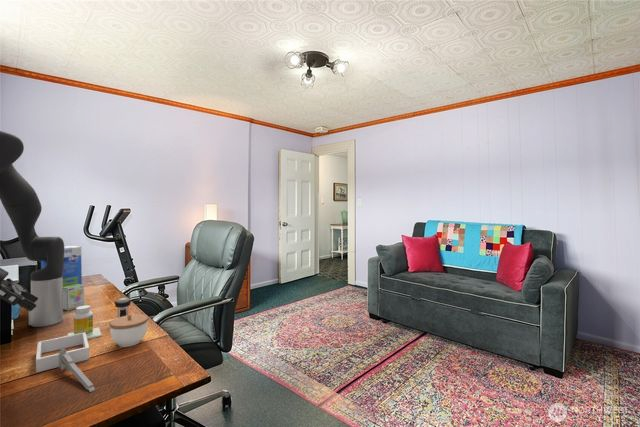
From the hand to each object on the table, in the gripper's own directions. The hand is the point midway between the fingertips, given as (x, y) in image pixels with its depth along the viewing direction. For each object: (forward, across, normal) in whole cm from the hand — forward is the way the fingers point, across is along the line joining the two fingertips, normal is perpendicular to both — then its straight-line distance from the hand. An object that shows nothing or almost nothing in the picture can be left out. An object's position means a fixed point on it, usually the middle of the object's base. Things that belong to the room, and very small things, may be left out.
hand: (34, 304), depth 99 cm
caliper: (+16, -31, +3) cm, 35 cm away
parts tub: (+14, -13, +5) cm, 20 cm away
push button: (+27, +4, -7) cm, 28 cm away
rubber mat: (+19, +2, +1) cm, 19 cm away
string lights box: (+16, +54, +6) cm, 57 cm away
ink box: (+18, +41, +3) cm, 45 cm away
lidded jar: (+26, -15, -7) cm, 31 cm away
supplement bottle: (+18, +1, +1) cm, 18 cm away
